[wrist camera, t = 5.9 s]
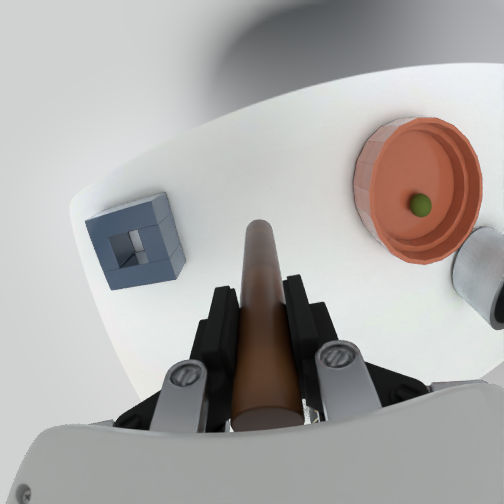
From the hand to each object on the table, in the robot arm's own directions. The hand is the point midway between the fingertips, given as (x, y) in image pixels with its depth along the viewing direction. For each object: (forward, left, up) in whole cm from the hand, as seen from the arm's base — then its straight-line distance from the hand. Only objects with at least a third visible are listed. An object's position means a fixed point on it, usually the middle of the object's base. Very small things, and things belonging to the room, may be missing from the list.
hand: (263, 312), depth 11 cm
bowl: (+1, +20, -22) cm, 30 cm away
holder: (+1, -15, -22) cm, 27 cm away
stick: (0, 0, -11) cm, 11 cm away
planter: (+15, +34, -23) cm, 44 cm away
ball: (+4, +20, -20) cm, 29 cm away
